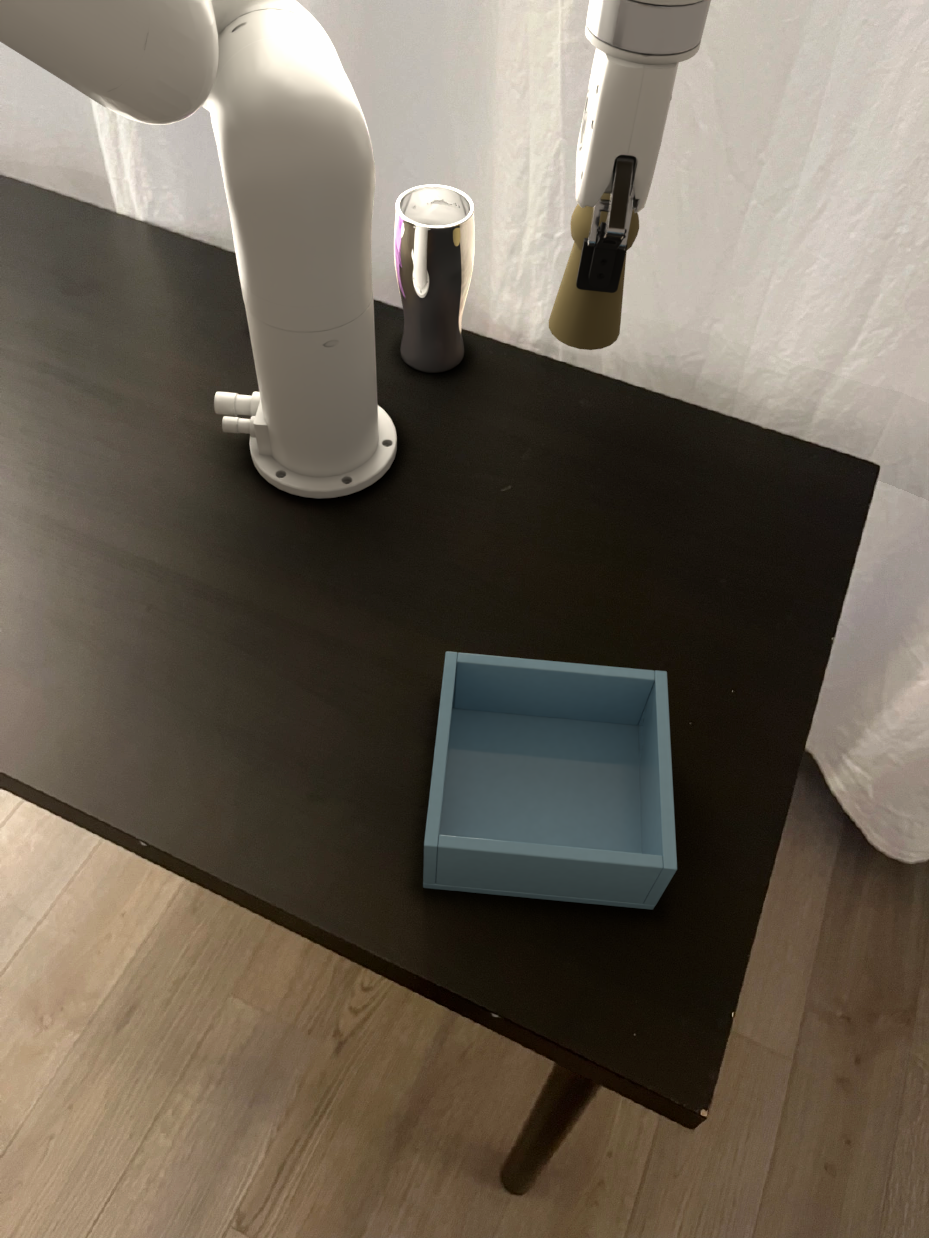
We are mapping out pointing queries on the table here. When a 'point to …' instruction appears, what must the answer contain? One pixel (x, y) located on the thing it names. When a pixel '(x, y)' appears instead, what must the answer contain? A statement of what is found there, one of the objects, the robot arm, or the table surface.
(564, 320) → the tan pawn
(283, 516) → the table surface
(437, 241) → the beer glass
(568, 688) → the blue open box
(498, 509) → the table surface
